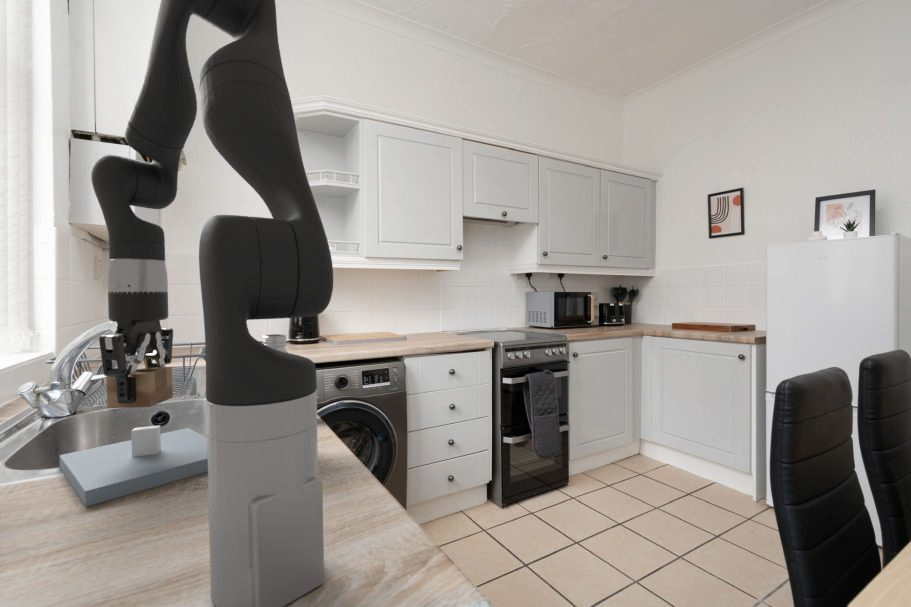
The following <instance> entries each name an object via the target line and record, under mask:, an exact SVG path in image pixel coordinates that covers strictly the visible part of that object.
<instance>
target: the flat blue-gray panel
mask: <svg viewBox="0 0 911 607" xmlns="http://www.w3.org/2000/svg"><path fill="white" fill-rule="evenodd" d="M161 432H162V430H161V425H152V426H143V427H142V426H141V427H140V426H139V427H134V428H133V429H131V436H130V437H131V439H129V440H125V441H120V442H116V443H112V444H106V445H102V446H96V447H91V448H88V449H82V450H78V451H74V452H69V453H64V454H60V455H59V469H60V470H61V472H62V474H63V475H64V477H66V478H65V479H66V480H67V481H68V483H69V484H70V486H71V487H72V489H73V490H74V492H75V493H76V494H77V496H78V498H79V499H80V501H81V503H82V504H83V505H84V507H86V508H87V507H90V506H94V505H97V504H101V503H104V502H108V501H111V500H115V499H118V498H121V497H126V496H128V495H129V496H130V495H132V494H136V493H139V492H143V491H145V490H149V489H152V488H156V487H160V486H163V485H166V484H169V483H174V482H177V481H180V480H184V479H187V478H190V477H194V476H198V475H201V474H203V473H208V458H207V436H205V435H203V434H201V433H199V432H197V431H195V430H193V429H191V428H190V427H186V428H181V429H177V430H172V431H168V432H167V431H166V432H163V433H161Z"/></svg>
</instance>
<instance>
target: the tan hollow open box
mask: <svg viewBox="0 0 911 607" xmlns="http://www.w3.org/2000/svg"><path fill="white" fill-rule="evenodd" d="M105 378H106V408H107V409H126V408H127V409H131V408H133V409H134V408H151V407H153V406H156V405H158V404H160V403H163V402H165V401H168V400H170V399H173V397H174V396H173V395H174V394H173V390H174V389H173V367H172V366H165V367H152V368H146V367H137V371H136V375H135V377H134V378H136V401H135V402H133V403H129V404H120V403H119V402H118V399H117V380H116V378H114V377H112V376H105Z"/></svg>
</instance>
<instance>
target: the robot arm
mask: <svg viewBox="0 0 911 607" xmlns="http://www.w3.org/2000/svg"><path fill="white" fill-rule="evenodd" d="M192 15H194V16H195V17H198V18H200V19H201V20H202V21H205V22H206V23H208V24H209V25H212V26H213V27H215V28H217V29H218V30H220V31H222V32H223V33H225V34H227V35H228V36H230V37H231V38H232V39H233V41H232V42H229V43H227V44H225V45H223V46H222V47H220V48H218V49H217V50H216V51H214V52H213V53H212V54H211V55H209V57H208V58H207V59H206V61H204V63H203V65H202V67H201V69H200V72H199V80H198V89H199V98H200V107H201V108H200V109H201V118H202V123H203V128H204V130H205V133H206V135H207V137H208V139H209V141H210V142H211V144H212V146H213V147H214V148H215V149H216V151H217V152H218V154H219V155H220V156H221V157H222V158H223V159H224V161H226V162H227V164H228V165H229V166H230V167H231V168H232V169H233V170H234V171H235V172H236V173H237V174H238V175H239V176H240V177H241V178H242V179H243V180H244V181H245V182H246V183H247V184H248V186H250V188H252V189H253V190H254V191H255V192H256V194H258V195H259V197H260V198H261V200H262V201H263V203H264V204H265V205H266V208H267V209H268V211H269V213H270V214H271V216H272V217H271V218H270V217H261V216H247V215H237V214H217V215H216V214H215V215H212V216H210V217H209V218H208V219H207V221H206V222H205V223H204V225H203V226H202V229H201V233H200V237H199V245H198V250H199V251H198V264H199V281H200V291H201V292H200V294H201V300H202V302H201V303H202V313H203V325H204V344H205V345H204V346H205V347H204V349H205V350H204V351H205V399H206V400H205V401H206V403H205V404H206V431H207V432H206V437H207V458H208V472H207V490H208V491H207V492H208V496H207V497H208V499H207V500H208V539H209V542H208V543H209V544H208V546H209V569H210V570H209V572H210V573H209V575H210V598H211V601H212V603H213V605H214V606H215V607H285V606H286V605H288V604H291V603H292V602H294V601H295V600H296V599H299V598H301V597H302V596H304V595H306V594H307V593H309V592H311V591H313V590H314V589H316V588H317V587H320V586H321V585H323V584H324V583H325V554H324V550H325V549H324V545H325V544H324V541H325V540H324V501H323V500H324V497H323V490H324V489H323V481H322V480H321V479H320V478H319V452H318V400H317V399H318V398H317V391H318V390H317V388H318V386H317V385H318V384H317V383H318V381H317V368H316V367H317V366H316V364H315V363H314V361H313V360H311V359H310V358H308V357H306V356H302V355H298V354H295V353H290V352H288V353H286V352H282V351H279V350H275V349H273V348H270V347H268V346H266V345H264V344H262V342H260V341H259V340H258V339H256V338H254V337H253V336H252V335H251V333H250V331H249V328H248V323H247V321H250V320H251V321H252V320H253V321H254V320H255V321H256V320H274V319H275V320H278V319H295V318H297V319H298V318H309V317H314V316H317V315H320V314H322V313H323V312H324V311H325V310H326V309H327V308H328V306H329V304H330V302H331V299H332V297H333V290H334V267H333V259H332V255H331V254H332V253H331V250H330V245H329V242H328V238H327V234H326V232H325V228H324V224H323V221H322V218H321V216H320V213H319V210H318V207H317V204H316V201H315V200H316V199H315V197H314V194H313V191H312V188H311V185H310V182H309V180H308V177H307V173H306V169H305V165H304V162H303V157H302V152H301V147H300V142H299V137H298V132H297V130H298V129H297V125H296V120H295V119H296V118H295V115H294V110H293V109H294V108H293V104H292V100H291V96H290V91H289V88H288V84H287V81H286V77H285V72H284V68H283V67H284V66H283V61H282V57H281V56H282V55H281V50H280V44H279V43H280V42H279V36H278V34H279V33H278V22H277V21H278V20H277V6H276V0H160V3H159V8H158V12H157V16H156V21H155V25H154V30H153V34H152V40H151V46H150V49H149V50H150V51H149V54H148V60H147V64H146V69H145V72H144V76H143V81H142V84H141V87H140V89H139V92H138V95H137V98H136V101H135V103H134V105H133V108H132V110H131V112H130V116H129V119H128V121H127V124H126V126H125V130H124V139H125V141H126V143H127V145H129V147H130V148H131V149H133V150H134V151H135V152H137V153H139V154H140V155H142V156H144V157H147V158H148V159H151V160H152V161H151V162H148V161H143V160H139V159H134V158H130V157H125V156H122V155H117V154H104V155H102V156H100V157H98V159H97V160H95V161H94V163H93V166H92V168H91V171H90V172H91V175H90V178H91V184H92V188H93V190H94V194H95V196H96V199H97V202H98V204H99V208H100V209H101V212H102V215H103V218H104V223H105V226H106V229H107V230H106V231H107V234H108V256H109V257H108V258H109V259H108V260H109V261H108V268H107V300H108V301H107V302H108V303H107V306H108V309H107V310H108V320H109V321H111V322H115V323H116V324H117V326H116V329H115V332H114V334H106V335H105V334H102V335H100V337H99V339H98V341H99V348H100V355H101V356H100V357H101V362H102V363H101V364H102V369H103V375H104V377H106V376H112V377H114V378H116V380H117V399H118V402H119V403H120V404H129V403H133V402H135V401H136V378H134V377H135V375H136V371H137V368H139V365H140V364H141V363H142V362H143V363H144V368H152V367H166V365H169V364H171V363H172V359H173V358H172V356H173V341H174V330H173V328H171V327H170V328H167V327H166V328H164V327H163V328H162V325H161V321H163V320H165V321H166V320H167V319H168V318H169V291H168V290H169V289H168V288H169V287H168V271H167V266H166V246H165V245H166V243H165V242H166V239H165V232H164V229H163V228H162V227H161V225H158V224H157V223H154V222H150V221H148V220H145V219H142V218H140V217H138V216H137V215H136V214H135V213H134V211H133V209H132V207H138V208H139V207H140V208H146V209H152V210H162V209H165V208H167V207H169V206H170V205H171V204H172V203H173V202H174V200H175V199H176V197H177V193H178V192H177V191H178V178H179V167H180V162H181V155H182V151H183V149H184V147H185V144H186V143H187V140H188V138H189V135H190V133H191V132H192V129H193V126H194V124H195V121H196V118H197V112H198V102H197V94H196V89H195V84H194V81H193V77H192V73H191V68H190V64H189V58H188V51H187V30H188V26H189V22H190V19H191V16H192ZM131 206H132V207H131ZM113 361H114V362H115V366H114V367H113ZM128 364H129V366H127V365H128Z"/></svg>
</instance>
